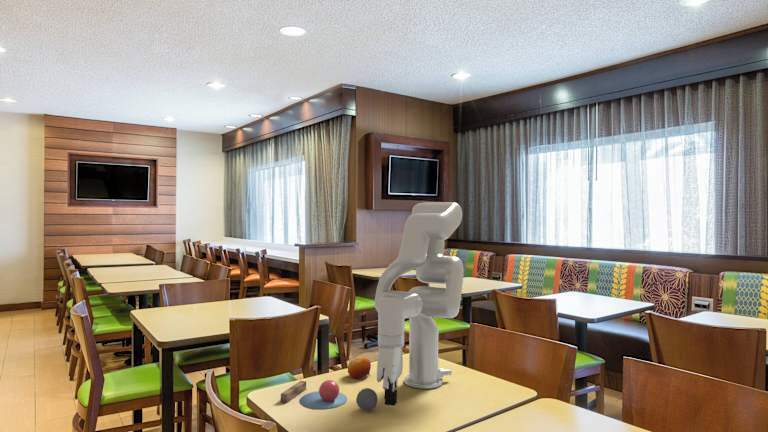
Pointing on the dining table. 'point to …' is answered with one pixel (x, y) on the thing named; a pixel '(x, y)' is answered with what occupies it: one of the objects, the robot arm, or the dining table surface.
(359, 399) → the grey ball
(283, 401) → the wall
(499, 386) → the dining table surface
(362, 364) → the fruit
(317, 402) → the blue flat disc
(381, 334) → the robot arm
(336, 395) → the object ball
